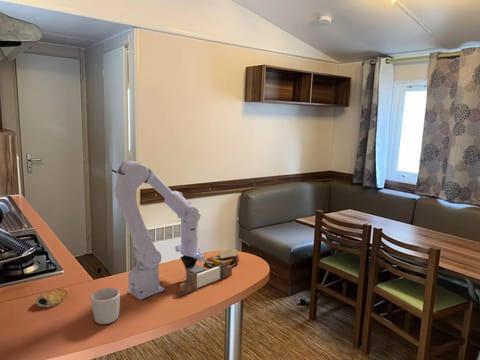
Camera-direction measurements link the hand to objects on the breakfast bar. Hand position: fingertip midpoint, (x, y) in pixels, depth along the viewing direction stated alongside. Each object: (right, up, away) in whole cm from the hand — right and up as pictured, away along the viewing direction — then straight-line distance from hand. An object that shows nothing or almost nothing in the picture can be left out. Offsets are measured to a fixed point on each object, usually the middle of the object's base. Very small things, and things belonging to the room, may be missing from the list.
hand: (190, 274), depth 134 cm
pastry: (-41, -5, -16) cm, 45 cm away
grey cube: (+3, -2, -2) cm, 4 cm away
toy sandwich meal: (+11, +1, +15) cm, 18 cm away
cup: (-21, -6, -25) cm, 34 cm away
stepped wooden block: (+6, -2, -4) cm, 8 cm away
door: (+7, -2, -3) cm, 8 cm away
